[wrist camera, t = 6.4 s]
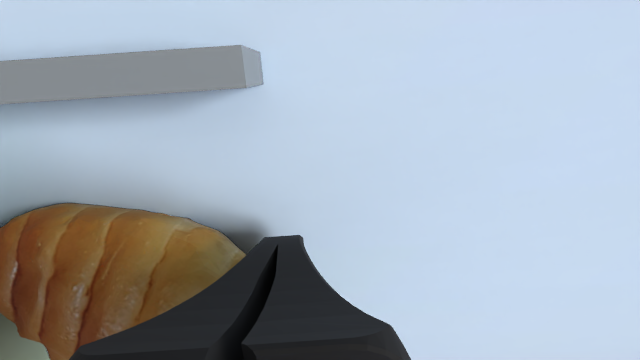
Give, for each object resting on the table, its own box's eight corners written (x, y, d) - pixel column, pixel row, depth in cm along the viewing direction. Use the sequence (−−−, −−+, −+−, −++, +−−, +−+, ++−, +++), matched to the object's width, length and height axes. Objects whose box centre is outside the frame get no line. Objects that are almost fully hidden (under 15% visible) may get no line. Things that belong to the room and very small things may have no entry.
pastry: (9, 301, 14) (-97, 380, 10) (34, 153, 12) (-84, 185, 9) (227, 365, 15) (201, 456, 12) (279, 238, 13) (266, 299, 10)
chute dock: (259, 52, 11) (236, 43, 8) (296, 382, 15) (291, 469, 12) (-107, 76, 11) (-289, 78, 8) (31, 399, 15) (-47, 491, 12)
